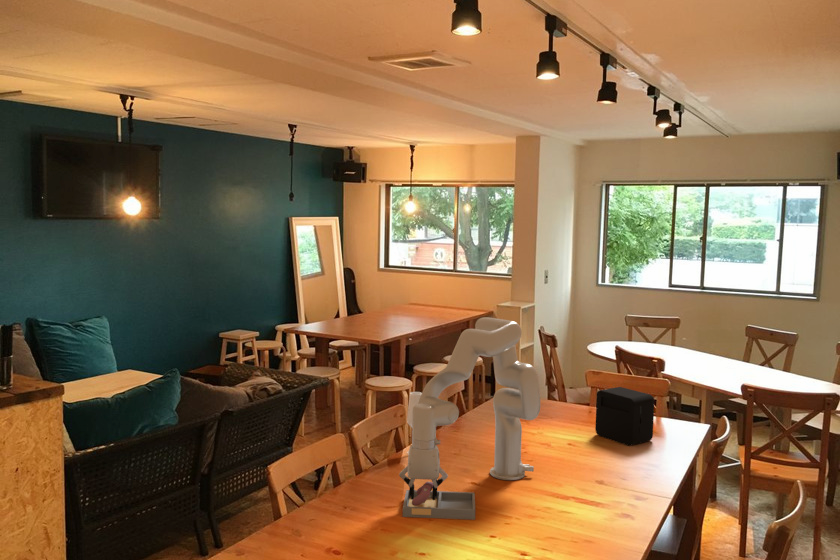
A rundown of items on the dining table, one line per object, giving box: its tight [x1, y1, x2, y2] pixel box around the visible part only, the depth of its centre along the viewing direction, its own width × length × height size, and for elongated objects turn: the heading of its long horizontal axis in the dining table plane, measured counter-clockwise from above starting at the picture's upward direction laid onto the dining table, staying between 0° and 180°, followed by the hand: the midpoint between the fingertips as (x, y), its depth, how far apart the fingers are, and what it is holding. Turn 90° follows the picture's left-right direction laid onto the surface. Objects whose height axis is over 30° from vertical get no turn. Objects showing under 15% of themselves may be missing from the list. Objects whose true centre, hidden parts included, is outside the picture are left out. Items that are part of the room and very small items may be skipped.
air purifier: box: [595, 386, 655, 447], centre depth 301 cm, size 20×15×20 cm
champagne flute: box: [406, 391, 422, 455], centre depth 277 cm, size 7×7×24 cm
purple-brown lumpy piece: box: [412, 481, 433, 506], centre depth 225 cm, size 10×5×7 cm, turn 170°
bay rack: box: [402, 489, 476, 521], centre depth 225 cm, size 22×14×3 cm, turn 86°
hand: (423, 497), depth 225 cm, fingers closed on purple-brown lumpy piece, 6 cm apart
